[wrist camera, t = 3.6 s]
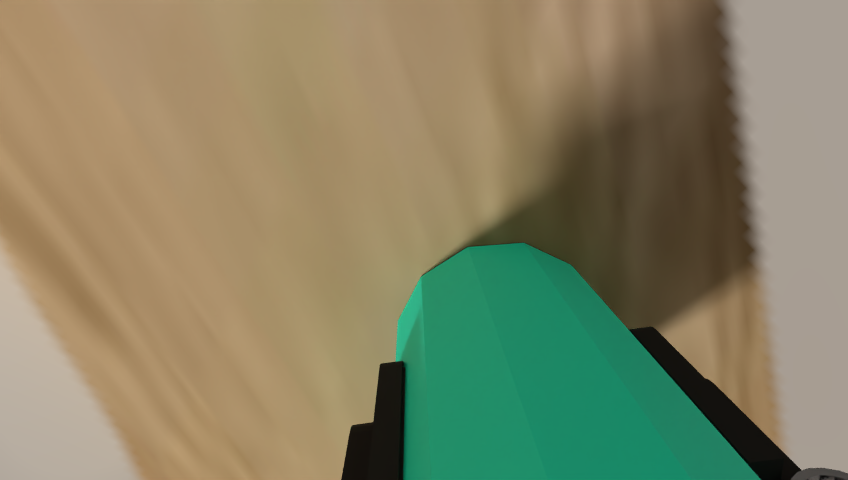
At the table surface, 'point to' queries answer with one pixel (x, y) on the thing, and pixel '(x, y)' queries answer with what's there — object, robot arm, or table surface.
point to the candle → (540, 382)
